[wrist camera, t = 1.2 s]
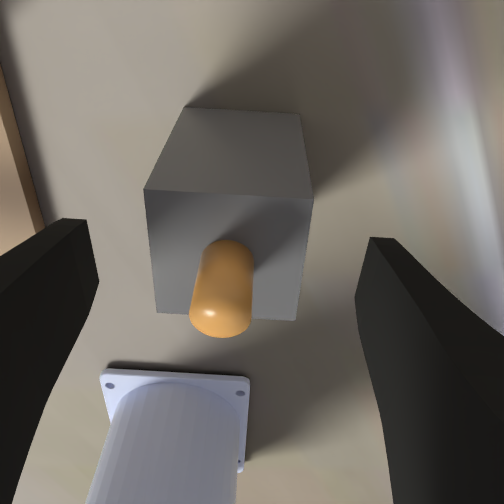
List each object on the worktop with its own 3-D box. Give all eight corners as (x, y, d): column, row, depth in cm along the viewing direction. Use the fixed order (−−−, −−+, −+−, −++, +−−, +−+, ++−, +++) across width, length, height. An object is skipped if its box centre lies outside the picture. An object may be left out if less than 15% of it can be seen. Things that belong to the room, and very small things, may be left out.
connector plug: (288, 213, 17) (298, 378, 11) (188, 207, 17) (140, 368, 11) (299, 113, 15) (322, 249, 9) (183, 106, 15) (119, 237, 9)
